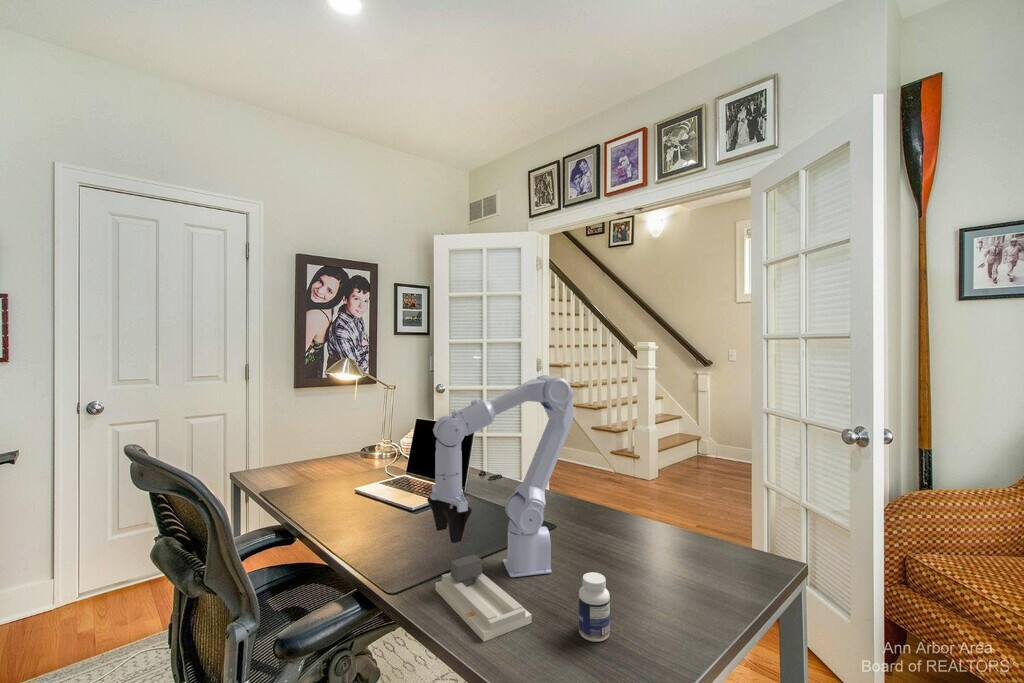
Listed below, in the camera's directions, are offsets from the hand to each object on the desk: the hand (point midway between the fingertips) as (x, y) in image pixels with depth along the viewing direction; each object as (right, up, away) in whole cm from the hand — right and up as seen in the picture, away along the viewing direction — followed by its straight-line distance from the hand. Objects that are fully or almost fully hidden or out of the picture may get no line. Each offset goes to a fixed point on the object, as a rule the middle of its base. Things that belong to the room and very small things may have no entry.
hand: (448, 535), depth 101 cm
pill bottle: (+28, -10, -19) cm, 35 cm away
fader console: (+8, -9, -10) cm, 16 cm away
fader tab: (+4, -8, -5) cm, 10 cm away
